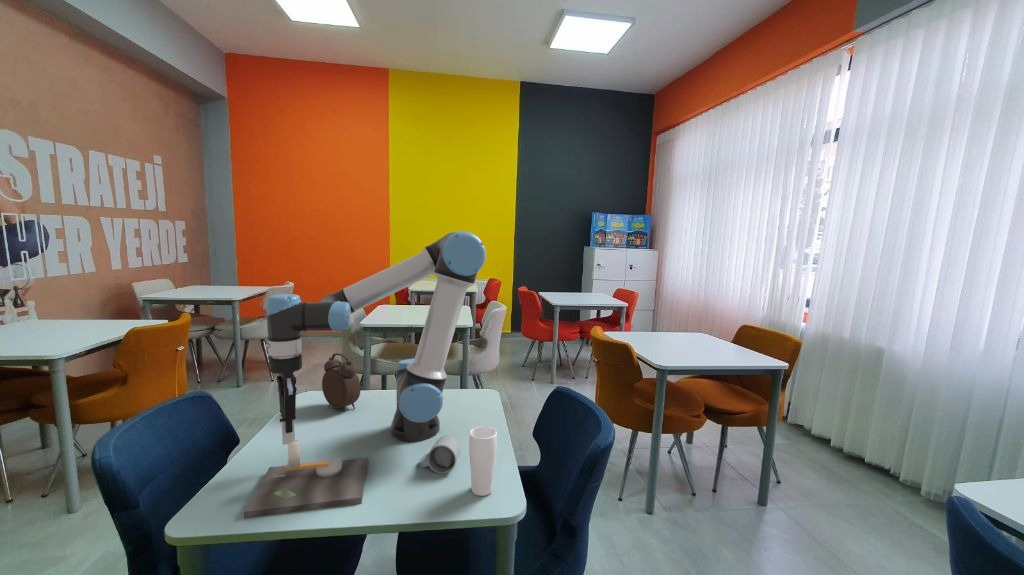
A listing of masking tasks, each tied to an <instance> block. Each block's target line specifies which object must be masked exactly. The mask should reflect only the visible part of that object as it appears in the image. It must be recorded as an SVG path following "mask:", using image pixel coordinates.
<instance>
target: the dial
mask: <svg viewBox="0 0 1024 575" xmlns="http://www.w3.org/2000/svg"><path fill="white" fill-rule="evenodd" d="M300 446H301V444H300V440H296V439H295V440H294V441H290V442H289V443H288V444H287V459H288V460H287V462H288V464H286V465H285V466H286V467H285V471H292V470H301V469H311V468H316V474H317V476H319V477H331V476H334V475H337V474H338V473H340V472H341V470H342V462H341V461H340V460H341V459H337V458H331V459H330V458H329V459H325V460H322V461H315V462H314V461H313V462H304V463H301V452H300V451H301V450H300V448H301V447H300Z"/></svg>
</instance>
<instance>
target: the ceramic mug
mask: <svg viewBox="0 0 1024 575" xmlns="http://www.w3.org/2000/svg"><path fill="white" fill-rule="evenodd" d="M460 453H461V444H460V441H459V440H458V438H457V437H455V436H453V435H447V434H446V435H443V436H441V437H439V438H438V439H437V441H436V442H435V443H434V445H433V446H432V447H431V448H430V451H429V452H427V453H426V454H424V455H423V456H422V457H421V458H420V459H419V464H420V466H421V467H422V468H427V467H429V468H430V469H431V470H432V471H434V472H435V473H437V474H441V475H442V474H447V473H450V472H451V471H452V470H454V468H455V466H456V463H457V461H458V458H459V457H460Z"/></svg>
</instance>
